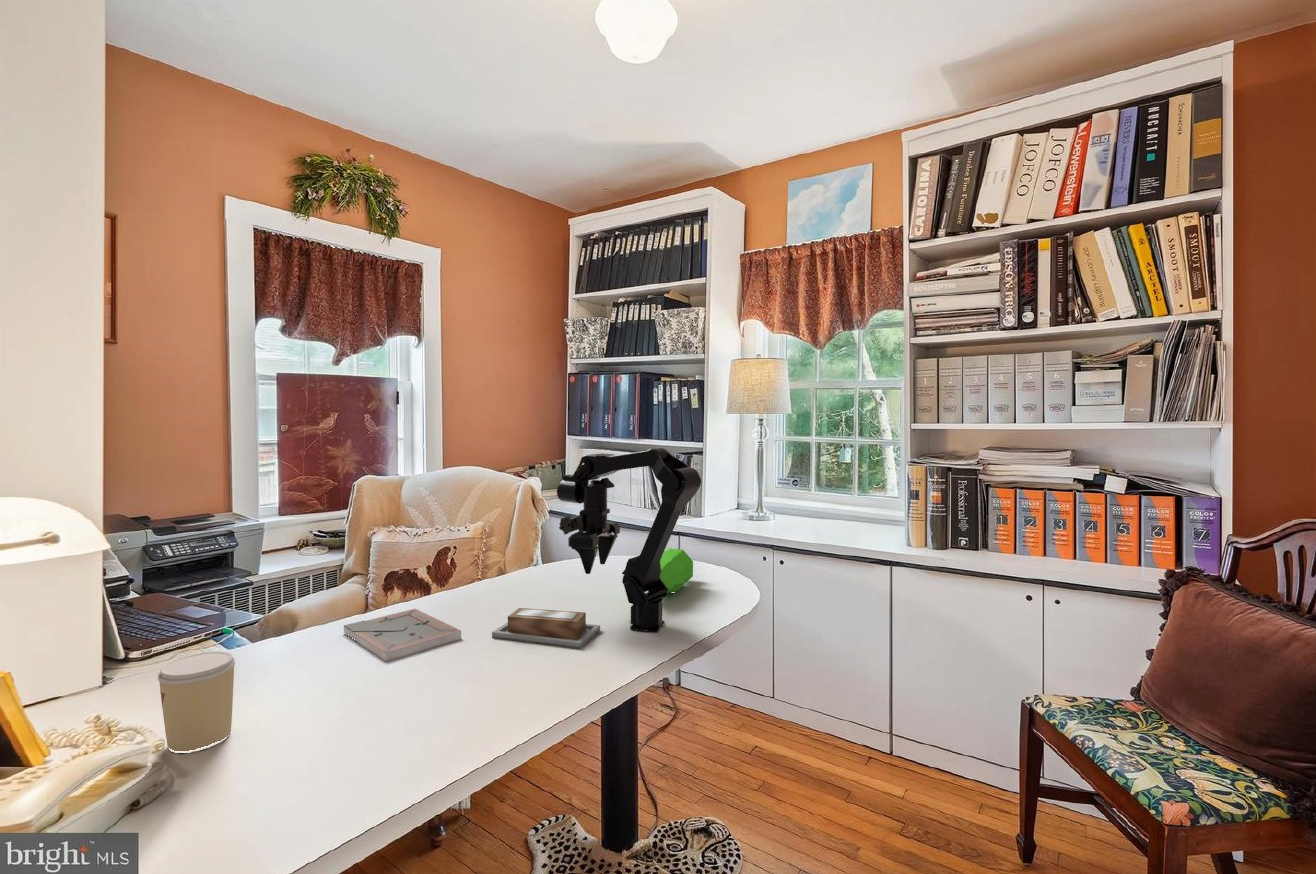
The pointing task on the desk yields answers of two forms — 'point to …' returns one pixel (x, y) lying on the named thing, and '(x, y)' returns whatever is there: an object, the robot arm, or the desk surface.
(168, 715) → the coffee cup
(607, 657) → the desk surface
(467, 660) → the desk surface
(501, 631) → the display tray
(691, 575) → the green faceted polyhedron
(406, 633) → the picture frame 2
